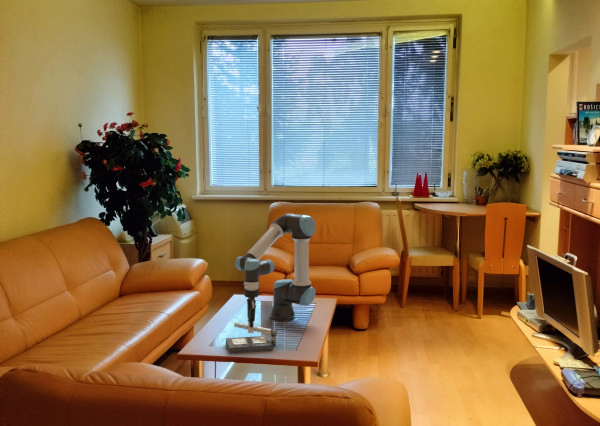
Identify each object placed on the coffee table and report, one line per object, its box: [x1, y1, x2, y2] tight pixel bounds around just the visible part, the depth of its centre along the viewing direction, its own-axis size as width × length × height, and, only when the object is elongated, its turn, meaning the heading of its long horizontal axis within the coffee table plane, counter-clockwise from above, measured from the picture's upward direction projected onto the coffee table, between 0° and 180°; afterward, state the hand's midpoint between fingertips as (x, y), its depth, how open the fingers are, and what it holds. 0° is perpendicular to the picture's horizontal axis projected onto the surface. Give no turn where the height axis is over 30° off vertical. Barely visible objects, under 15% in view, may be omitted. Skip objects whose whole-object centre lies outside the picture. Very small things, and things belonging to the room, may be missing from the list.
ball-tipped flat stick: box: [233, 321, 278, 337], centre depth 285 cm, size 26×3×3 cm, turn 63°
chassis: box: [225, 335, 277, 354], centre depth 277 cm, size 25×14×5 cm, turn 105°
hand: (250, 332), depth 283 cm, fingers closed
